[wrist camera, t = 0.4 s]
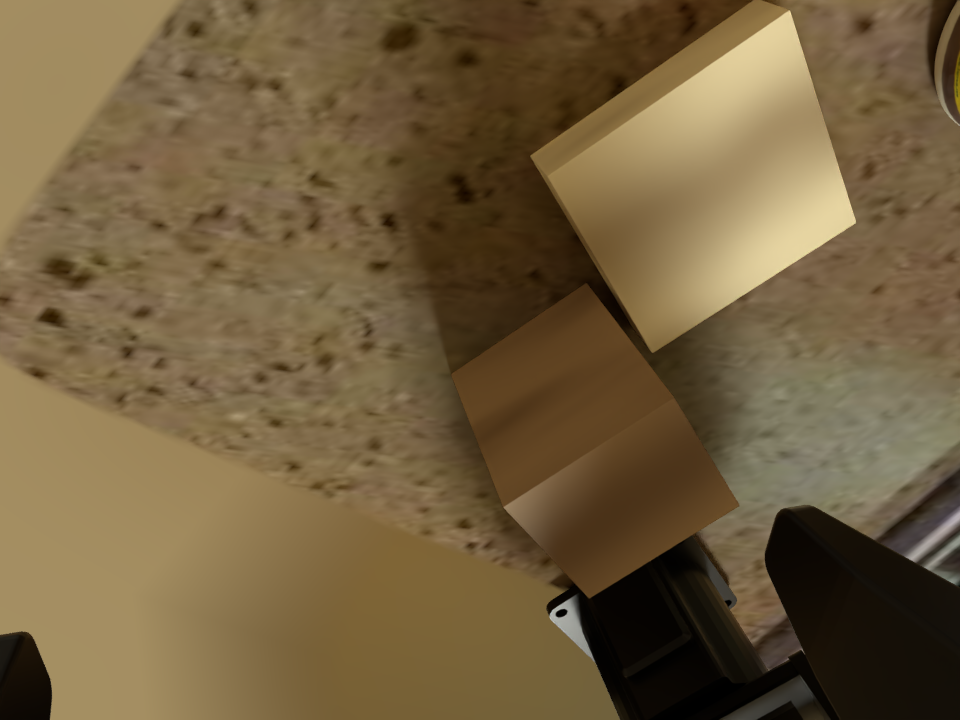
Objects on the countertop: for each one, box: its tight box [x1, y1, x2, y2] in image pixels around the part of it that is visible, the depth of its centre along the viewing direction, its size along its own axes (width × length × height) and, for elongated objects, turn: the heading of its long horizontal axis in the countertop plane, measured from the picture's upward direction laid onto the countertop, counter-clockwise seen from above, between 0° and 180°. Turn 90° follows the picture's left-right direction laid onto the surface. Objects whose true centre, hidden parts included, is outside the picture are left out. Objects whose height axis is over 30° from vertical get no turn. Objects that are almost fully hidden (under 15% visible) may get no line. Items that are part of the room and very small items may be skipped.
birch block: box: [530, 0, 856, 353], centre depth 23 cm, size 7×7×2 cm
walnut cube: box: [451, 283, 740, 598], centre depth 23 cm, size 5×5×6 cm
